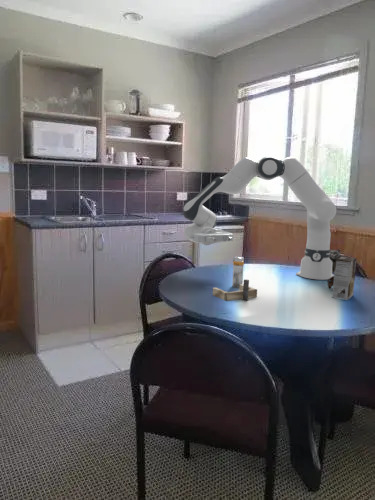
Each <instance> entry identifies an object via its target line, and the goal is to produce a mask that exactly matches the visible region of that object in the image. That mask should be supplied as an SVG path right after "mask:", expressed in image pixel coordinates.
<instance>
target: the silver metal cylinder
mask: <svg viewBox="0 0 375 500" xmlns="http://www.w3.org/2000/svg"><path fill="white" fill-rule="evenodd" d="M244 265H245V258H244V257H243V256H233V260H232V285H231V287H232V288H234V289H239V286H240V284H244Z"/></svg>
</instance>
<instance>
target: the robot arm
mask: <svg viewBox="0 0 375 500" xmlns="http://www.w3.org/2000/svg"><path fill="white" fill-rule="evenodd" d="M256 177H257V178H260V179H262V180H266V181H270V180H273V179H276V178H278V177H280V178H282V179H283V181H284V182H285V183H286V185H287V187H289V189H290V190H291V191H292V193H293V194H294V195H295V196H296V198H297V199H298V200H299V201H300V202H301V204H302V205H303V206H304V208H305V209H306V226H307V233H306V235H307V237H306V246H305V249H304V256H303V257H302V258H301V261H300V268H299V270H298V271H297V272H296V273H295V275H296V276H299V277H303V278H305V279H310V280H322V281H324V280H326V281H327V280H328V279H329V280H330V278H331V277H333V276H334V273H333V272H332V261H331V260H330V258H329V257H330V250H331V248H330V247H331V235H332V232H331V223H330V222H331V220H333V218H335V217H336V215H337V207H336V204H335V203H334V202H333V201H332V199H331V198H330V197H329V196H328V194H327V193H326V192H325V191H324V190H323V189H322V188H321V187H320V185H319V184H317V182H316V181H315V179H313V176H311V174H310V173H309V172H308V169H306V168H305V167H304V165H303V164H302V163H301V162H300V161H299V160H298V159H297V158H295V157H294V156H288V157H286V158H284V159H280V158H277V157H275V156H271V155H269V156H265V157H262V158H261V159H260V160H258V161H256V160H255V159H253V158H252V157H247V156H246V157H242V158H241V159H240V160H239V161H238V162H236V164H235V165H234V166H232V168H231V169H230V171H229V172H228V173H226V174H225V175H224V176H222V177H221V176H219V177H216V178H214V179H213V180H212V181H211V182H209V183H208V184H207V185H206V186H205V187H204V188H203V189H201V191H200V192H198V194H196V195H195V196H193V198H191V199H190V200H189V201H187V202H186V203H185V204H184V205H183V207H182V208H183V209H182V213H183V216H184V218H185V219H187V220H189V221H190V222H192V223H190V224H189V225H186V226H185V228H184V229H183V233H184V236H185V238H186V239H187V240H188V241H190V242H193V243H196V244H200V245H204V246H211V245H214V244H217V243H223V242H224V243H225V242H233V240H234V234H233V233H232V232H229V231H226V230H223V229H221V228H215V227H216V225H217V221H218V219H217V215H216V214H215V212H213V211H212V210H210V209H209V208H207V207H206V206H204V205H203V204H204V203H205V202H207V201H208V200H209V199H210V198H211V197H212V196H213V195H214V194H216V193H225V194H228V195H237V194H240V193H242V192H243V191H244V190H245V189H246V187H247V186H248V185H249V184H250V183H251V181H252V180H253V179H255V178H256Z"/></svg>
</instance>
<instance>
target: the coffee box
mask: <svg viewBox="0 0 375 500" xmlns="http://www.w3.org/2000/svg"><path fill="white" fill-rule="evenodd" d="M357 259H358V258H357V257H351V256H345V255H341V257H339V258H337V259H336V261H335V272H333V275H334V283H333V286H332V295H331V297H332V298H334V299H340V300H345V301H348V300H350V299H351V298H352V297H353V296H354V294H355V293H354V292H355V281H356V271H357Z"/></svg>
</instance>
